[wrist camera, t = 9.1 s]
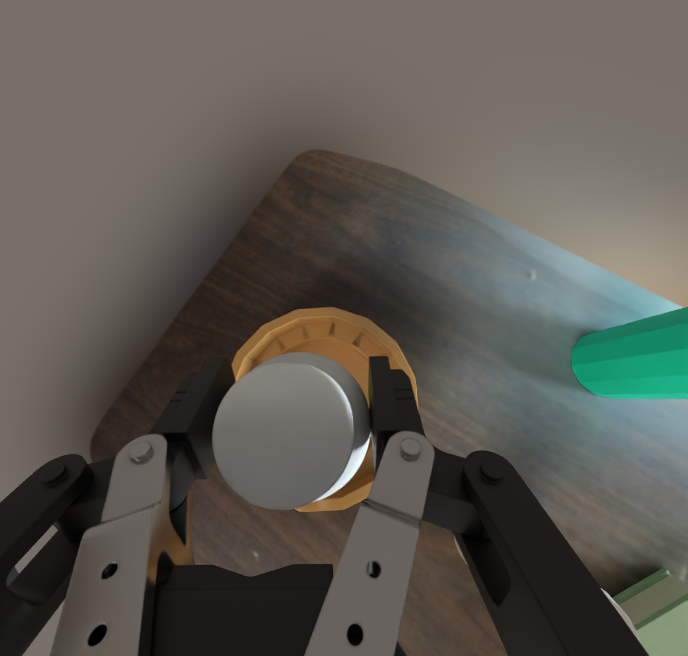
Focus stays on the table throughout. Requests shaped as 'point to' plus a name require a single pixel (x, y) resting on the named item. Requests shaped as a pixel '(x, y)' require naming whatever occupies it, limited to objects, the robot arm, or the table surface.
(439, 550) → the table surface
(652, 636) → the book
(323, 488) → the supplement bottle
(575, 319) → the table surface
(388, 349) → the bowl
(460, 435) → the table surface
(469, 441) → the table surface
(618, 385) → the candle
